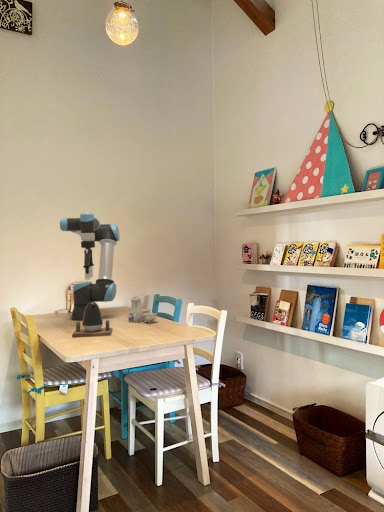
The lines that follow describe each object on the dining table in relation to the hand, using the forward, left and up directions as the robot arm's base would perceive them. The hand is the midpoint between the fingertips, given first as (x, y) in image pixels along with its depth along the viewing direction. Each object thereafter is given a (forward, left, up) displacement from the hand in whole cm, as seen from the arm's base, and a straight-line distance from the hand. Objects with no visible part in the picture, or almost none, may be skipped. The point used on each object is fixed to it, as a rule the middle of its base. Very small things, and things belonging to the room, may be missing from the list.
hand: (89, 278), depth 226 cm
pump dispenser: (+18, +3, -26) cm, 32 cm away
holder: (+18, +3, -28) cm, 33 cm away
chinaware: (-15, +29, -28) cm, 43 cm away
